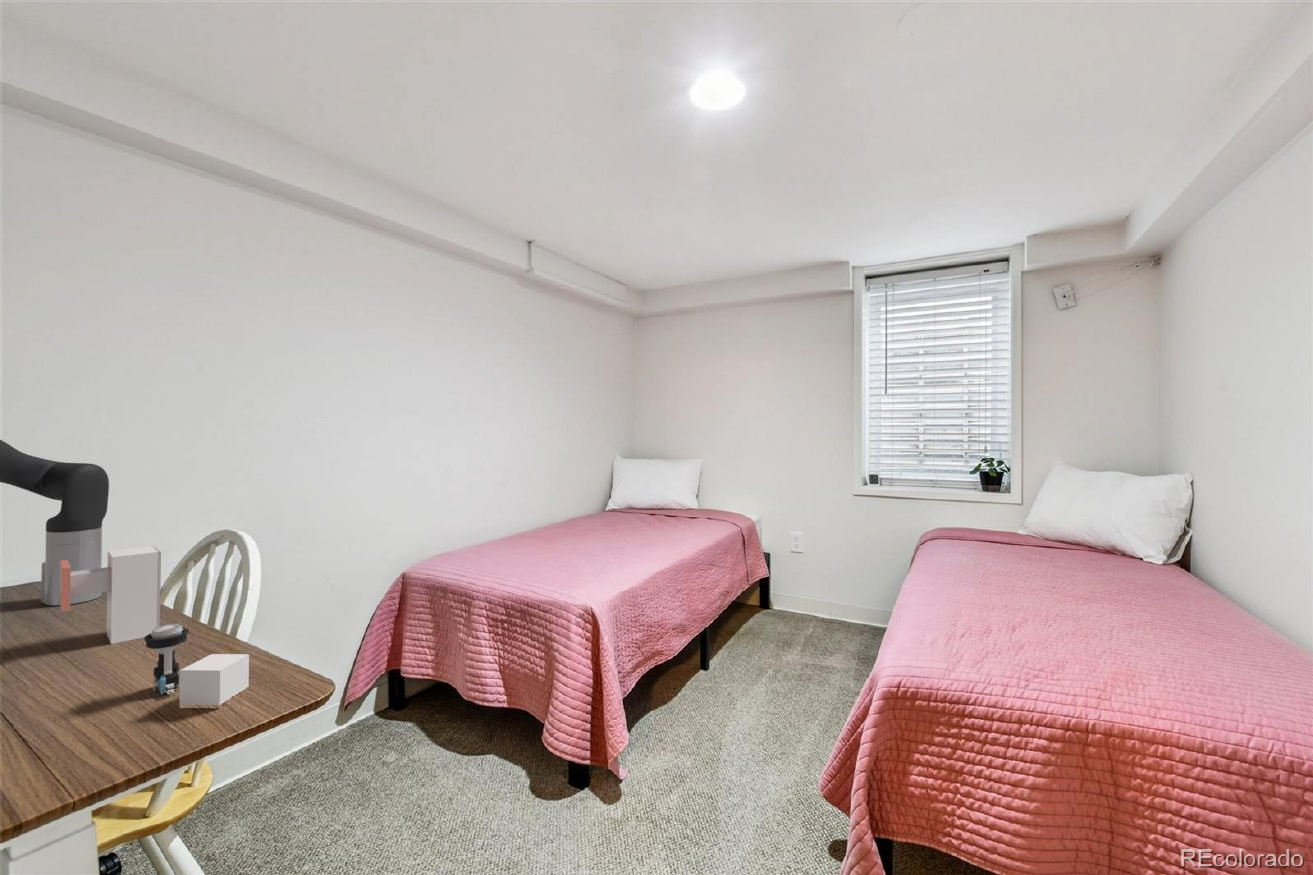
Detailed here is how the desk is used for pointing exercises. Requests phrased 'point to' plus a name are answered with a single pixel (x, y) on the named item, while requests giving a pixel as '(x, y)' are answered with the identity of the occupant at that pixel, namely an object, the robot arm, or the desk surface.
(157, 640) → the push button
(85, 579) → the plug
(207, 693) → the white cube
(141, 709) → the desk surface
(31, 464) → the robot arm
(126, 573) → the socket block
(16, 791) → the desk surface
